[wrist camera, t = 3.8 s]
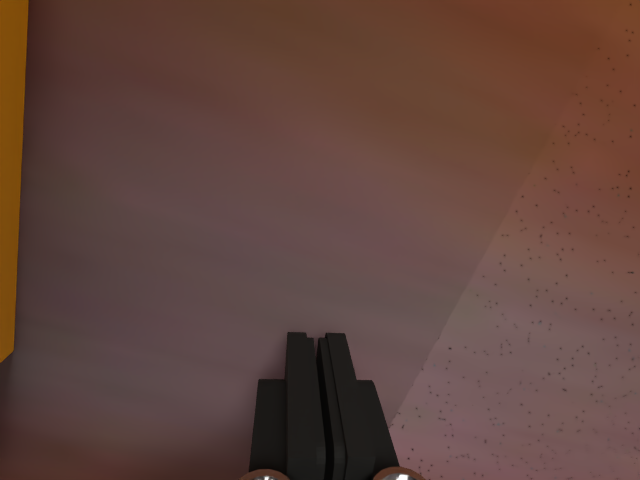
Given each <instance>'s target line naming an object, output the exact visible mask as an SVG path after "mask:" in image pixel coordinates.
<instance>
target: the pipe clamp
mask: <svg viewBox="0 0 640 480" xmlns="http://www.w3.org/2000/svg"><path fill="white" fill-rule="evenodd" d="M28 4H29V0H0V363H1V362H2V361H3V360H4V359H5V358H6V357H7V356H8V355H10V354H11V353H12V352H13V351H14V332H15V309H16V285H17V262H18V238H19V215H20V192H21V168H22V145H23V121H24V98H25V74H26V51H27V27H28Z"/></svg>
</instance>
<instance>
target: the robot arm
mask: <svg viewBox="0 0 640 480" xmlns="http://www.w3.org/2000/svg"><path fill="white" fill-rule="evenodd" d="M238 480H426V479H425V478H423V477H422V476H421V475H420V474H418V473H416V472H414V471H413V470H411V469H407V468H403V467H400V466H399V463H398V459H397V456H396V453H395V450H394V446H393V443H392V440H391V437H390V433H389V430H388V427H387V424H386V420H385V417H384V414H383V411H382V407H381V404H380V401H379V398H378V395H377V391H376V388H375V385H374V383H373V381H372V380H356V376H355V372H354V368H353V364H352V360H351V356H350V352H349V348H348V344H347V340H346V336H345V334H344V333H326V335H325V338H319V339H318V348H317V358H316V356H315V347H314V338H307V334H306V333H304V332H288V335H287V350H286V366H285V380H277V379H259V381H258V390H257V399H256V409H255V418H254V428H253V437H252V447H251V456H250V466H249V473H247V474H246V475H244V476H243V477H241V478H240V479H238Z"/></svg>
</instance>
